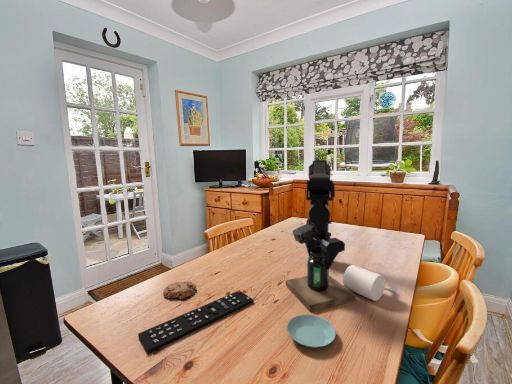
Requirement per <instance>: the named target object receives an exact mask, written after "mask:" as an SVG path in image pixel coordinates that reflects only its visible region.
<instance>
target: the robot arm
mask: <svg viewBox="0 0 512 384" xmlns="http://www.w3.org/2000/svg"><path fill="white" fill-rule="evenodd" d="M335 194H336V192H335V183H334V181H333V180H331V165H329V164H328V163H327V160H325V159H314V160H312V163H311V164H310V165H309V166H308V180H306V194H305V195H306V198H305V199H306V201H309V211H308V218H307V219H306V220H305V221H306V223H305V224H304V225H301V226H299V227H297V228H295V229H292V231H291V232H292V235H293V238H294V241H296V242H297V243H299V244H301V245H303V244H305V247H306V251H307V255H308V258H307V259H309V258H311V257H310V253H311V250H313V249H321V250H320V251H321V252H322V253H323V254H324V264H325V269H326V270H328V269H329V270H330V268H331V266H332V264H333V263H334V261H335V259H336V258H337V257H338V254H339V253H342V252H344V251H346V243H345V242H344V241H343V240H341V239H339V238H337V237H332V232H329V225H330V224H332V219H330V218H331V213H330V205H329V204H330V203H329V201H331V202H333V201H334V199H333V198H335V196H336V195H335Z"/></svg>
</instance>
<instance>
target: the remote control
mask: <svg viewBox="0 0 512 384" xmlns="http://www.w3.org/2000/svg"><path fill="white" fill-rule="evenodd" d="M254 302H255V300H254V299H253V298H252V297H250V296H249V295H247V294H246V293H245V292H244V291H243V292H242V291H241V290H237V291H236V290H235V292H232V293H230V294H227V295H225V296H222V297H221V298H218V299H215V300H213V301H211V302H208V303H207V304H204V305H201V306H200V307H196V308H195V309H192V310H191V311H188V312H186V313H183V314H180V315H178V316H176V317H173V318H171V319H169V320H167V321H164V322H162V323H159V324H157V325H154V326H153V327H150V328H148V329H146V330H143V331H140V332H138V333H137V336H138V340H139V341H140V342H141V344H142V346H143V348H144V350H145V352H146V353H147V355H150V354H152V353H154V352H156V351H158V350H161V349H162V348H164V347H166V346H168V345H170V344H172V343H174V342H177V341H178V340H180V339H183V338H184V337H187V336H188V335H190V334H193V333H195V332H197V331H199V330H201V329H204V328H205V327H207V326H209V325H211V324H213V323H215V322H218V321H220V320H221V319H224V318H226V317H228V316H229V315H232V314H234V313H236V312H238V311H240V310H242V309H244V308H246V307H248V306H250V305H252V304H254Z"/></svg>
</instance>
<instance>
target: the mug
mask: <svg viewBox="0 0 512 384" xmlns="http://www.w3.org/2000/svg"><path fill="white" fill-rule="evenodd" d="M342 277H343V278H342V283H343V284H342V285H343V286H345V287H346V288H347V289H349V290H350V291H352V292H353V293H356V294H358V295H361V297H364V298H367V299H368V300H369V299H370V300H371V301H373V302H377V301H379V300H380V299H381V297H382V296H383V294H384V291H385V287H386V280H385V277H384V276H383V275H382V274H379V273H377V272H374V271H371V270H368V269H365V268H362V267H360V266H356V265H355V264H354V265H353V264H352V265H351V264H350V265H349V266H348V267H347V268H346V269H345V271H344V274H343V276H342Z"/></svg>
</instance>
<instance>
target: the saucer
mask: <svg viewBox="0 0 512 384" xmlns="http://www.w3.org/2000/svg"><path fill="white" fill-rule="evenodd" d="M286 330H287V331H286V332H287V333H288V334H289V336H290V337H291V339H292V340H294V341H295V342H296V343H298V344H299V345H302V346H304V347H307V348H312V349H313V348H315V349H316V348H323V347H325V346H328V345H329V344H332V342H333V341H334V340H335V338H336V335H337V334H336V330H335V328H334V326H333V324H332V323H330V322H329V321H328V320H327V319H325V318H323V317H321V316H319V315H313V314H300V315H299V314H298V315H296V316H294V317H292V318H291V319H290V320H289V321H288V322H287V325H286Z"/></svg>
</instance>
